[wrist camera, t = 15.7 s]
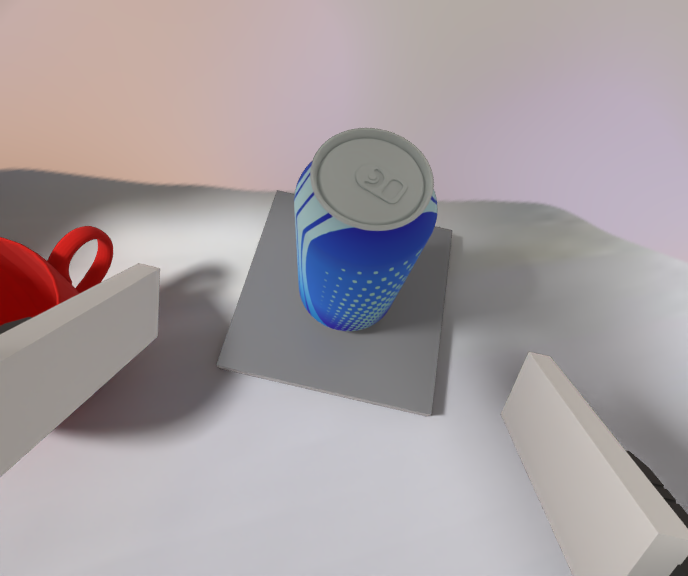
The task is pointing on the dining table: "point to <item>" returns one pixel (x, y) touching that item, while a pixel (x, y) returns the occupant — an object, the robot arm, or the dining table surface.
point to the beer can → (361, 225)
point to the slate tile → (333, 345)
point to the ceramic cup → (47, 274)
